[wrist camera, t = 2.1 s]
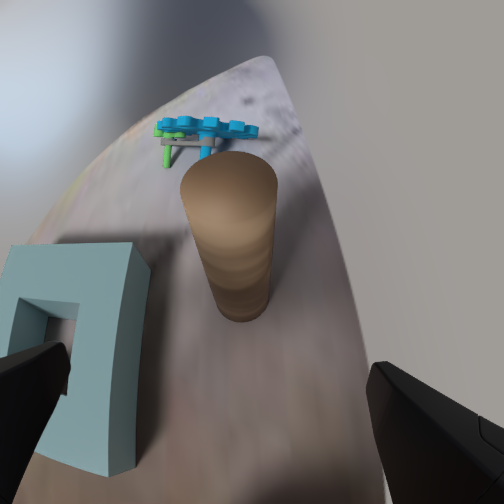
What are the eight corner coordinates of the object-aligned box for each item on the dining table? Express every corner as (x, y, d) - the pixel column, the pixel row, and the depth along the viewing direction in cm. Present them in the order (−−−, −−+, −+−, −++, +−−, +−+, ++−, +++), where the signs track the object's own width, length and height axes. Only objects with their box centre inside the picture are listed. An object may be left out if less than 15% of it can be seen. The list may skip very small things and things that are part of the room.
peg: (255, 330, 22) (253, 237, 11) (206, 309, 23) (161, 204, 12) (276, 284, 23) (291, 165, 13) (229, 266, 24) (209, 143, 14)
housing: (135, 467, 16) (108, 477, 12) (11, 427, 16) (-23, 422, 12) (151, 270, 24) (132, 242, 20) (36, 268, 24) (11, 245, 20)
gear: (272, 129, 31) (238, 108, 21) (266, 182, 32) (229, 182, 23) (183, 126, 34) (129, 112, 24) (178, 173, 35) (122, 173, 26)
